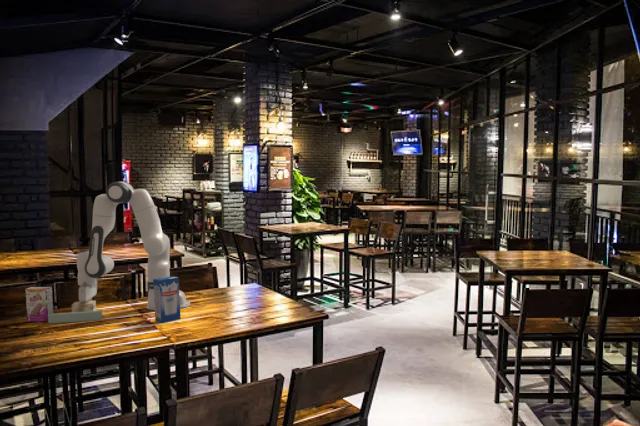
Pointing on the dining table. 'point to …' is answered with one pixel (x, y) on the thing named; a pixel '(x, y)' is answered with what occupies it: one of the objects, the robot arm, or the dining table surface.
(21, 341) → the dining table surface
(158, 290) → the milk carton
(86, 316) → the pale grey bar
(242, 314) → the dining table surface
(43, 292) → the candy bar box
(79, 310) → the block
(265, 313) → the dining table surface
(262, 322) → the dining table surface
